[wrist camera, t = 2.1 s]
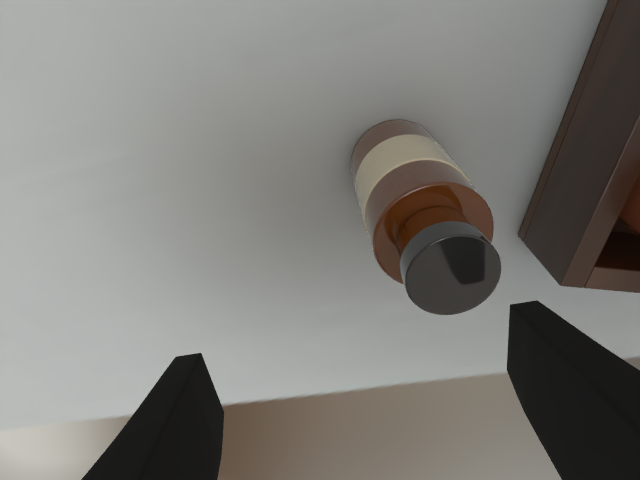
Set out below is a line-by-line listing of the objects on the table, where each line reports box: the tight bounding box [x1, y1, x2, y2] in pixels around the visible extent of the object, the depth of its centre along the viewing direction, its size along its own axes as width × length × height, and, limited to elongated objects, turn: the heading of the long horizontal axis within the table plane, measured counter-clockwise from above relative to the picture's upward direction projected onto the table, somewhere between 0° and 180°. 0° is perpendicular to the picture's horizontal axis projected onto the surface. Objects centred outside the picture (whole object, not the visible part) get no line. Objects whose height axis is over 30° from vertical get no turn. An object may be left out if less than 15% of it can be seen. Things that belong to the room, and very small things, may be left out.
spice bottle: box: [351, 120, 501, 315], centre depth 16 cm, size 4×4×8 cm
